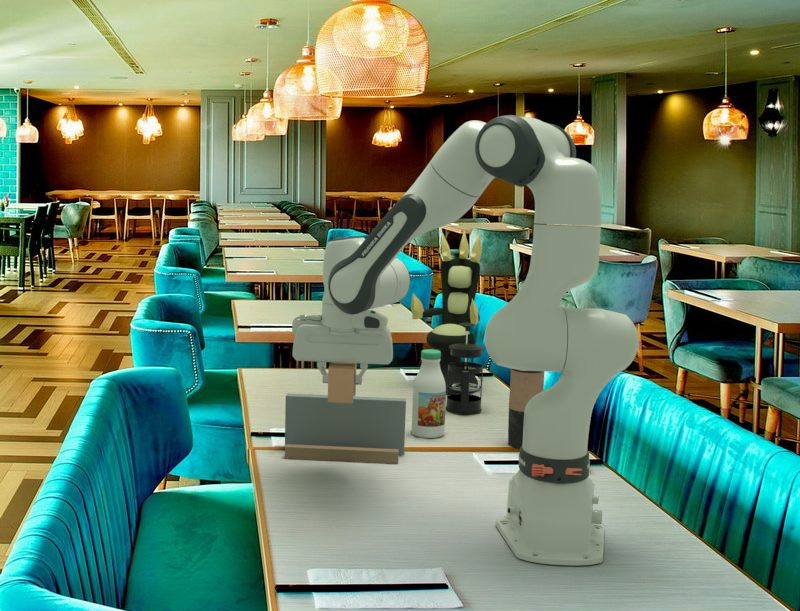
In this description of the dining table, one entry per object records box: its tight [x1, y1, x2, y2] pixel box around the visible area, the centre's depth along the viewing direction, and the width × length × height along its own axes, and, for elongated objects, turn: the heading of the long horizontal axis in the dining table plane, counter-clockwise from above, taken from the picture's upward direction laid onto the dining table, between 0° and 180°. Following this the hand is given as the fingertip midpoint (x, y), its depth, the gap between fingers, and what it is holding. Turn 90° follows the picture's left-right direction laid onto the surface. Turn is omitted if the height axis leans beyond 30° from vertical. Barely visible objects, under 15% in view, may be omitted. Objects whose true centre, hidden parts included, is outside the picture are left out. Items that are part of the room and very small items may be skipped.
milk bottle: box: [411, 348, 447, 439], centre depth 212 cm, size 8×8×20 cm
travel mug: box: [507, 368, 545, 449], centre depth 207 cm, size 8×8×20 cm
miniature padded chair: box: [410, 229, 483, 395], centre depth 259 cm, size 19×22×45 cm
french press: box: [445, 323, 485, 416], centre depth 235 cm, size 12×9×23 cm
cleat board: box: [284, 393, 407, 464], centre depth 195 cm, size 8×26×12 cm, turn 88°
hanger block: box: [327, 362, 358, 403], centre depth 185 cm, size 7×5×7 cm
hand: (342, 383), depth 185 cm, fingers closed on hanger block, 5 cm apart
